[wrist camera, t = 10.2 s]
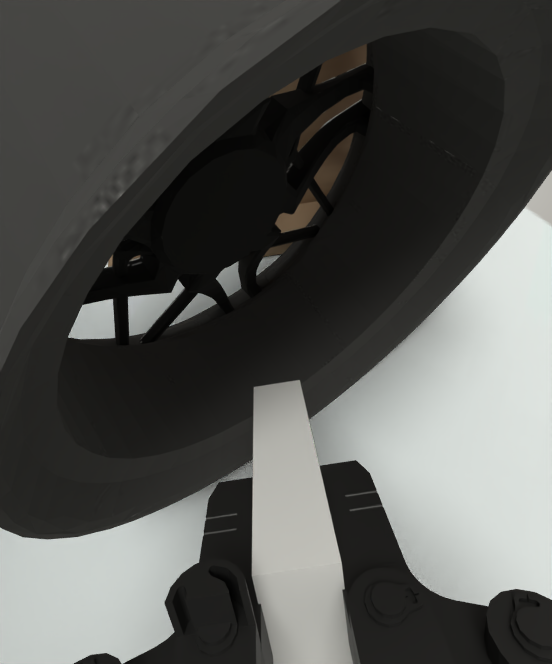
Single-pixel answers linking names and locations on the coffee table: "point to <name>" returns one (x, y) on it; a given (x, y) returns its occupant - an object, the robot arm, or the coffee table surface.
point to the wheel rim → (234, 219)
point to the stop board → (335, 158)
